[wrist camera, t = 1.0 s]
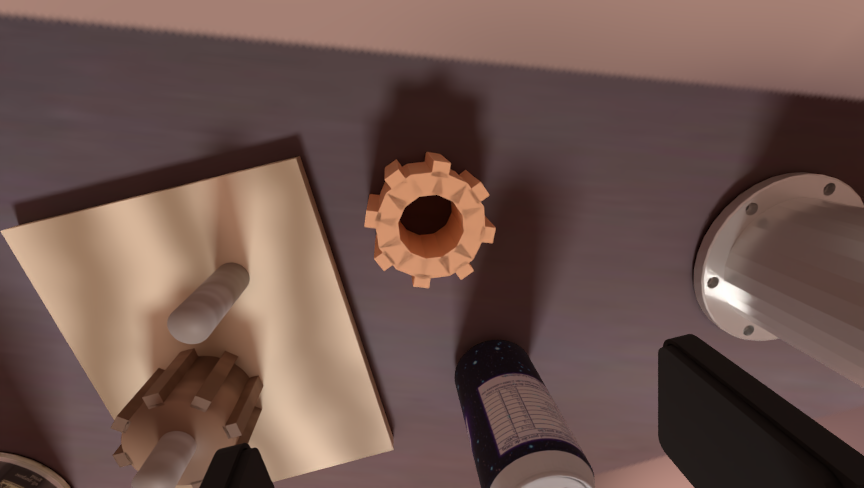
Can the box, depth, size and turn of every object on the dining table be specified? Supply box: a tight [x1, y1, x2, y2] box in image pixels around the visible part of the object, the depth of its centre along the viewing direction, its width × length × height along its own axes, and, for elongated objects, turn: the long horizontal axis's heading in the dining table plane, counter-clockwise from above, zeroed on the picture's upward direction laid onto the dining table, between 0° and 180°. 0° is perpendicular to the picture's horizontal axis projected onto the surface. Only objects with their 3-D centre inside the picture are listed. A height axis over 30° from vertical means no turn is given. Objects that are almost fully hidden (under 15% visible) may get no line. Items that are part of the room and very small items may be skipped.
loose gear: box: [364, 152, 496, 288], centre depth 25 cm, size 7×7×4 cm
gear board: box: [1, 156, 394, 488], centre depth 25 cm, size 17×22×8 cm
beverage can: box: [455, 340, 595, 488], centre depth 26 cm, size 6×6×12 cm
